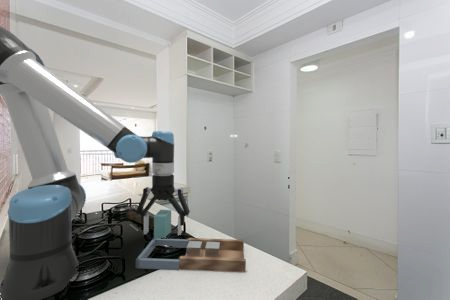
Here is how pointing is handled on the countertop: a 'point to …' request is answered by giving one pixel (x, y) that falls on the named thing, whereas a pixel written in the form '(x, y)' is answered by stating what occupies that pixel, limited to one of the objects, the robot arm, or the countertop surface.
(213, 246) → the light grey cube
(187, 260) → the channel
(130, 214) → the hand tool
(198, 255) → the grey cube
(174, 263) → the tray
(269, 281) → the countertop surface
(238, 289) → the countertop surface
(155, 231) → the upright teal block
